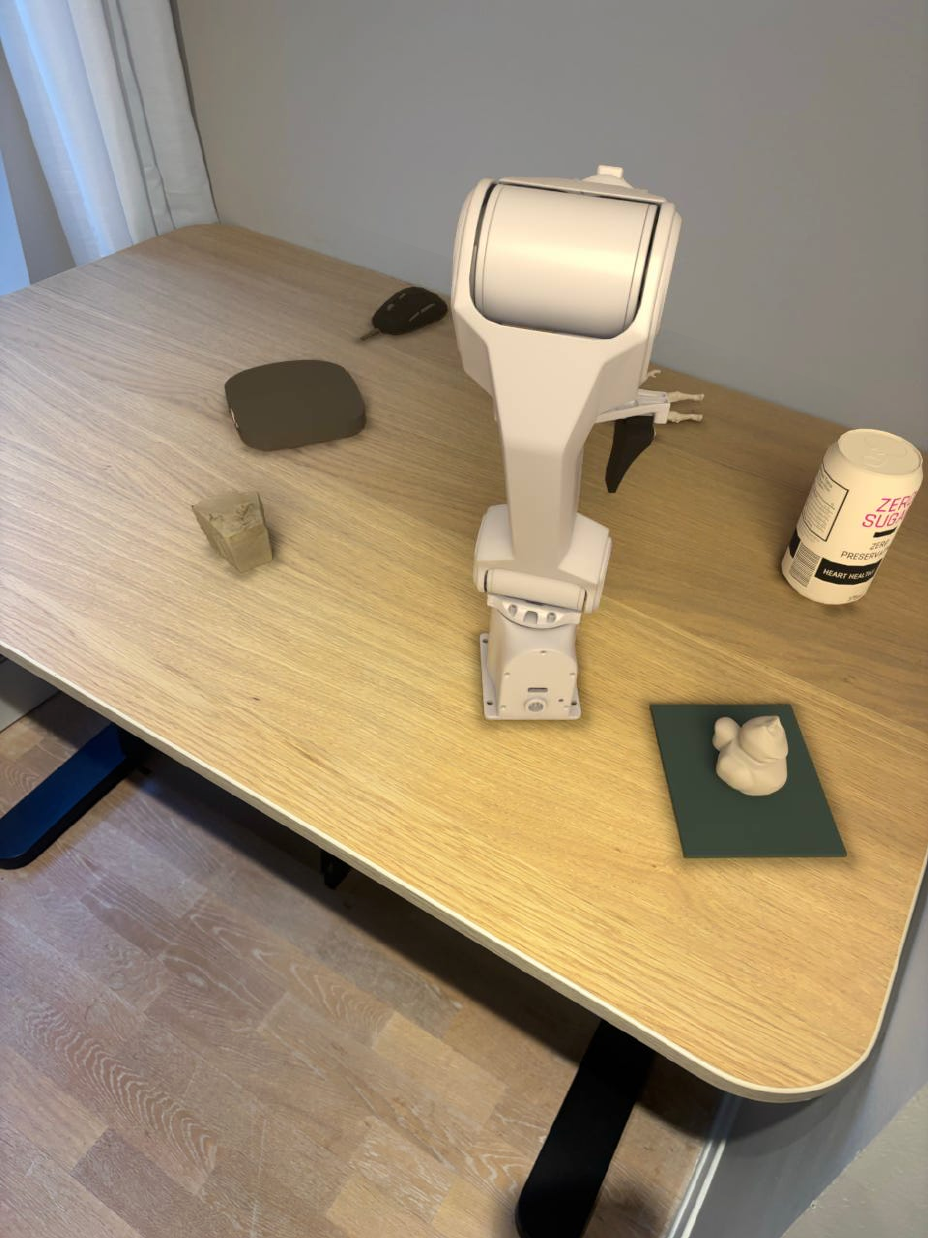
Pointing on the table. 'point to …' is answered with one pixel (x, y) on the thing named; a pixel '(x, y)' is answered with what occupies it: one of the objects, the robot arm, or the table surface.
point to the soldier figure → (678, 396)
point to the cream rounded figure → (752, 754)
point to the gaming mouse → (408, 311)
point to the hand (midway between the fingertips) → (568, 485)
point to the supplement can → (852, 515)
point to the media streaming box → (294, 404)
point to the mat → (727, 816)
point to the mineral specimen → (236, 528)
